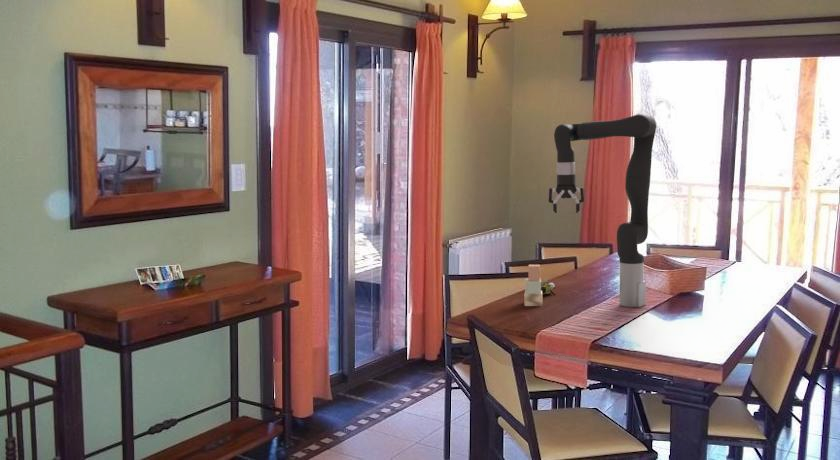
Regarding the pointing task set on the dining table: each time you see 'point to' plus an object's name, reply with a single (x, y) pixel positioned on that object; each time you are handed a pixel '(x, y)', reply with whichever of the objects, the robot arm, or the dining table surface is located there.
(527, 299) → the tower base
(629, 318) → the dining table surface
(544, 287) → the toy
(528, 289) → the tower top
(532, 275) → the clay block
